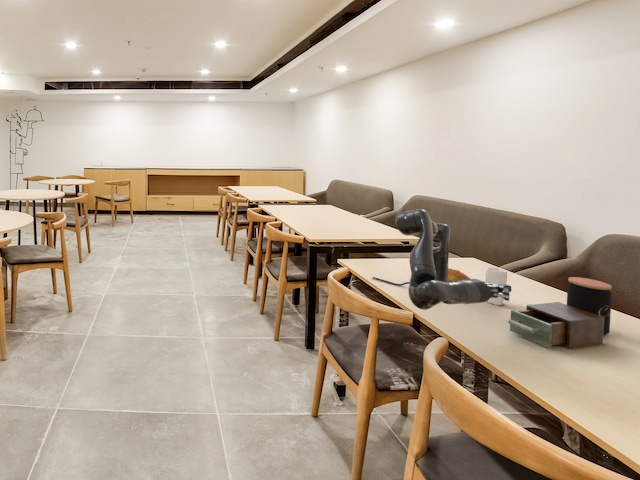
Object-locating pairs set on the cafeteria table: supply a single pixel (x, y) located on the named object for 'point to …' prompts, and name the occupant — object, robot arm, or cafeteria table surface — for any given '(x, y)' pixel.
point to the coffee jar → (591, 297)
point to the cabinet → (575, 324)
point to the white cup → (496, 281)
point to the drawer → (538, 327)
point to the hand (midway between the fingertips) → (508, 287)
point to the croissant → (456, 275)
